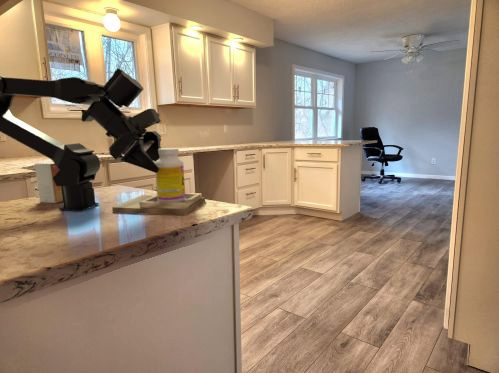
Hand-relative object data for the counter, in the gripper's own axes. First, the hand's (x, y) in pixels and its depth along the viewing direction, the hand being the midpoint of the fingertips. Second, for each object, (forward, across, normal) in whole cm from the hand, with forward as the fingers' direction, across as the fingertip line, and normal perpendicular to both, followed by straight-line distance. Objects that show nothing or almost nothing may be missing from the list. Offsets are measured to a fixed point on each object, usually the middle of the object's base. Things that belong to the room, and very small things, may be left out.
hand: (164, 168), depth 76 cm
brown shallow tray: (+6, 0, +8) cm, 10 cm away
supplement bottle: (+7, 0, +5) cm, 8 cm away
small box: (-16, +9, +30) cm, 35 cm away
